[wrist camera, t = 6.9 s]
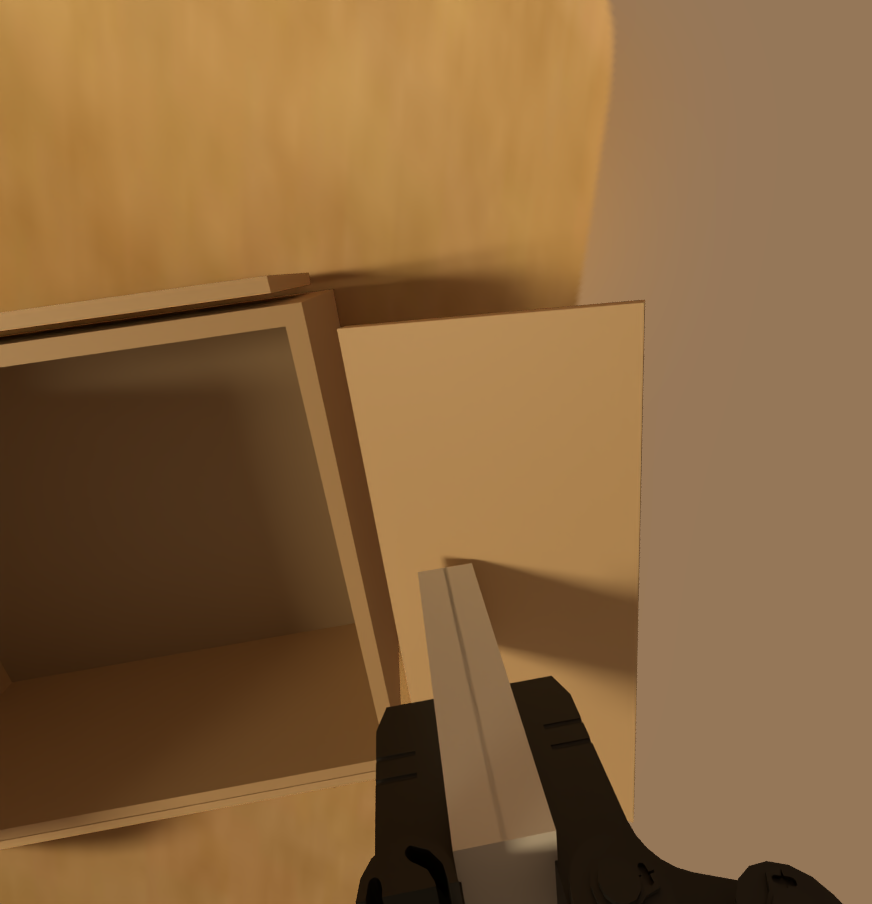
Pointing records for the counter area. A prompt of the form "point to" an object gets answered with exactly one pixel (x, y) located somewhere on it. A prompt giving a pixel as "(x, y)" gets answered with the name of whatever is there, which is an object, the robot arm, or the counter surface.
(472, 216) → the counter surface
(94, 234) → the counter surface
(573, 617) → the flap
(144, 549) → the carton
